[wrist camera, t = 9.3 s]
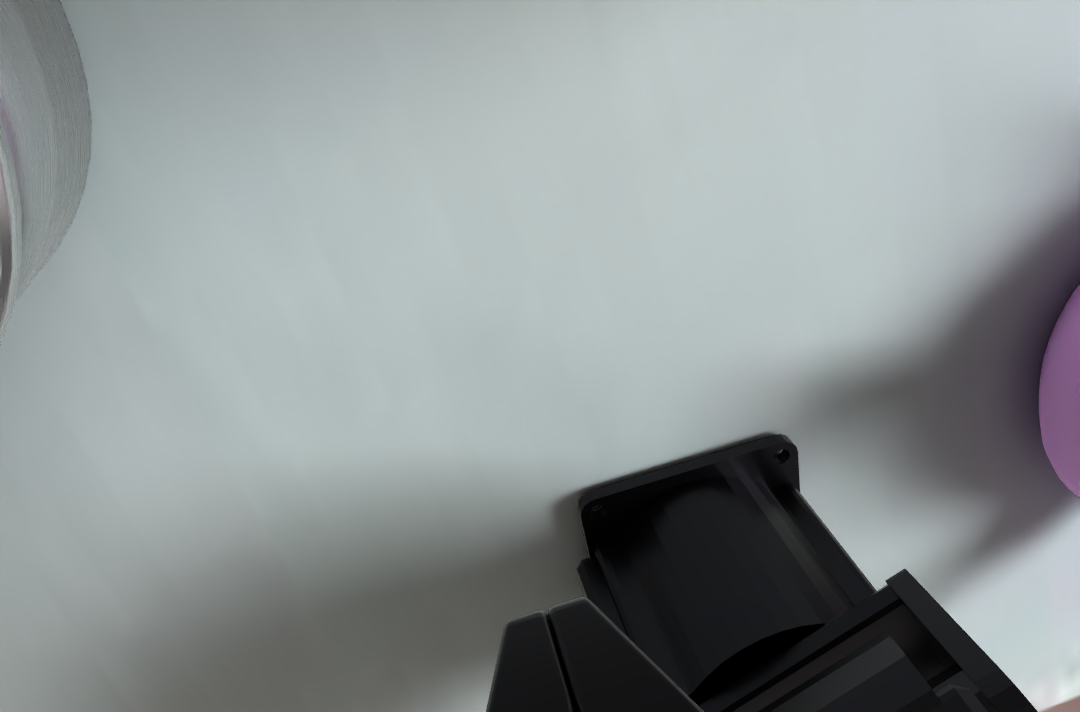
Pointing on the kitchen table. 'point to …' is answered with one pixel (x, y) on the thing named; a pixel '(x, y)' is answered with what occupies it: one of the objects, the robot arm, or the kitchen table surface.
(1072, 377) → the teapot
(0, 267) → the lid
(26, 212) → the pot
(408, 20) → the kitchen table surface
